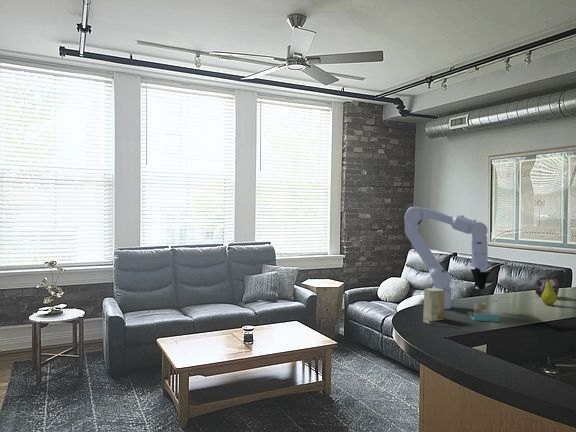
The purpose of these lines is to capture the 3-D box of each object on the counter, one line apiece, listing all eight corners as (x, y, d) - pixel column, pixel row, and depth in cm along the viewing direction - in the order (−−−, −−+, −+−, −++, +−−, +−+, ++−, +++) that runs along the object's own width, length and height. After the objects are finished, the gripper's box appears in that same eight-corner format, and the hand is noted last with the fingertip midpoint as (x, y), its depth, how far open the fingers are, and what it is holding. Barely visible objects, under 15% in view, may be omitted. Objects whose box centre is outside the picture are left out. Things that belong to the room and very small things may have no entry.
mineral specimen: (532, 294, 215) (534, 273, 218) (536, 299, 223) (537, 279, 226) (557, 296, 209) (558, 275, 212) (559, 301, 217) (560, 281, 220)
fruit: (559, 306, 197) (560, 278, 197) (545, 306, 197) (546, 278, 197) (551, 303, 203) (552, 276, 203) (538, 303, 203) (539, 276, 203)
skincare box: (431, 325, 164) (432, 290, 163) (422, 322, 168) (423, 288, 167) (444, 323, 167) (445, 289, 166) (435, 320, 171) (436, 287, 170)
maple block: (475, 315, 173) (475, 304, 173) (473, 312, 177) (473, 302, 177) (486, 315, 173) (487, 305, 173) (484, 313, 177) (485, 302, 176)
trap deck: (466, 315, 179) (467, 305, 179) (489, 316, 178) (490, 306, 177) (473, 324, 165) (473, 313, 165) (498, 326, 164) (499, 315, 164)
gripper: (494, 255, 172) (495, 291, 172) (486, 251, 186) (487, 285, 187) (474, 255, 174) (475, 291, 174) (468, 251, 188) (468, 285, 188)
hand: (480, 288), depth 180 cm, fingers open, 5 cm apart
